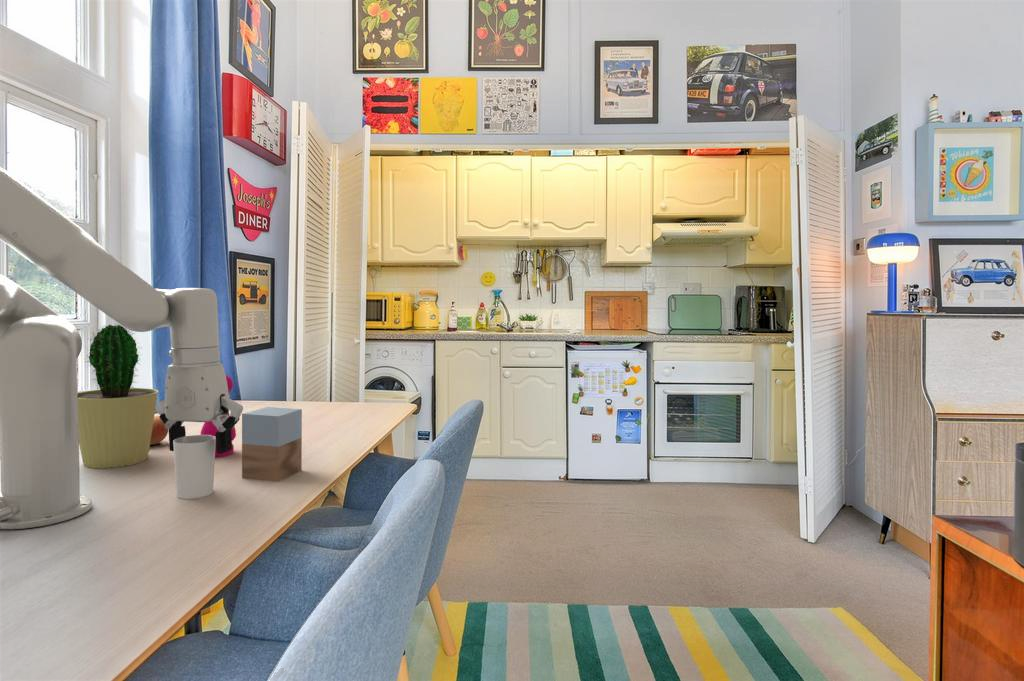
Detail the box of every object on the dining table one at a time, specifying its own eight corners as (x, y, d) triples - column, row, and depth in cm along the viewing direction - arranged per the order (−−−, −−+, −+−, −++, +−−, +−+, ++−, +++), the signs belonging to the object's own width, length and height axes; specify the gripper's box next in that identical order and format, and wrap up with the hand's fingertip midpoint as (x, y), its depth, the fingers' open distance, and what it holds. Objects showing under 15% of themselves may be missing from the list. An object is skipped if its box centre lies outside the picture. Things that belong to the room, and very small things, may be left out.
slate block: (278, 446, 107) (278, 416, 107) (242, 443, 108) (241, 413, 108) (301, 437, 115) (301, 409, 114) (267, 434, 116) (267, 406, 116)
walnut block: (278, 482, 107) (278, 446, 107) (242, 478, 109) (241, 443, 108) (301, 470, 115) (301, 437, 115) (267, 467, 117) (267, 434, 116)
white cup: (206, 485, 104) (206, 433, 104) (222, 493, 100) (222, 439, 99) (167, 493, 99) (167, 438, 98) (182, 502, 95) (181, 445, 94)
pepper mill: (225, 458, 122) (225, 369, 121) (193, 457, 122) (192, 368, 121) (241, 450, 129) (241, 366, 128) (211, 449, 130) (211, 365, 128)
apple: (119, 447, 129) (119, 413, 129) (150, 439, 137) (150, 408, 136) (145, 450, 127) (145, 416, 127) (175, 442, 135) (175, 410, 134)
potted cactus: (175, 455, 124) (174, 322, 122) (109, 474, 109) (107, 323, 107) (123, 448, 128) (121, 320, 126) (52, 466, 113) (49, 321, 111)
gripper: (137, 358, 96) (143, 454, 98) (223, 360, 93) (228, 459, 94) (171, 354, 104) (176, 443, 105) (252, 355, 100) (256, 447, 102)
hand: (201, 450), depth 100 cm, fingers open, 9 cm apart
